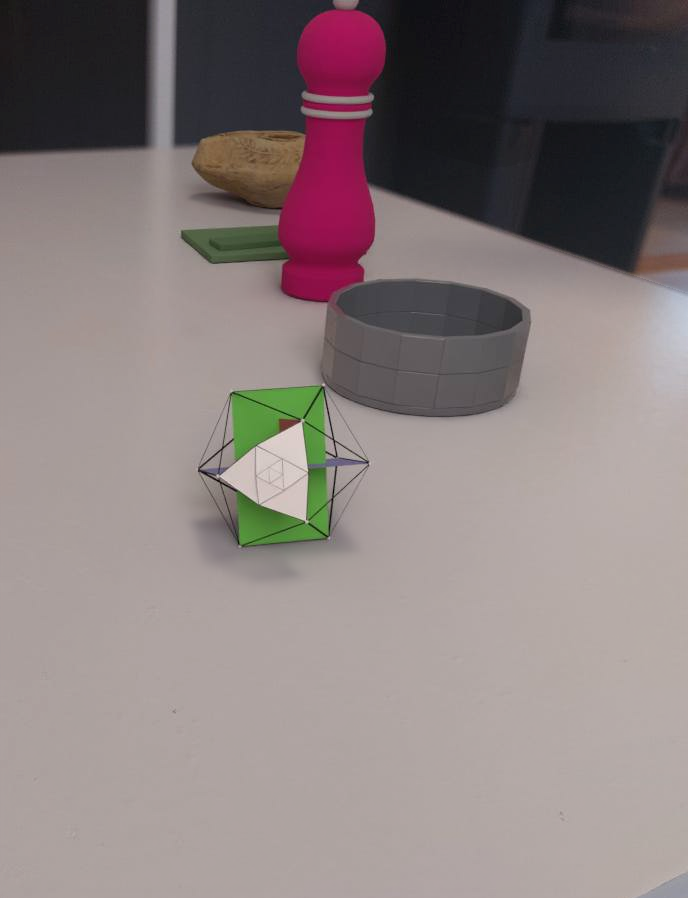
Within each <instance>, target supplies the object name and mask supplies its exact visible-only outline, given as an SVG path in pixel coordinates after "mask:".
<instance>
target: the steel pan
mask: <svg viewBox="0 0 688 898" xmlns="http://www.w3.org/2000/svg"><path fill="white" fill-rule="evenodd" d="M325 313H326V314H325V315H326V316H325V327H324V337H323V349H322V360H321V369H322V377H323V381H324V382H325V384H326V385H327V386H328V387H329V388H330V389H332V391H334V392H335V393H337V394H338V395H340V396H342V397H344V398H346V399H348V400H351V401H353V402H355V403H358V404H361V405H364V406H367V407H370V408H373V409H377V410H382V411H386V412H392V413H397V414H404V415H412V416H424V417H457V416H467V415H476V414H480V413H485V412H489V411H492V410H495V409H497V408H500V407H503V406H504V405H506V404H508V403H510V401H511V400H513V398H514V397H515V395H516V393H517V389H518V388H519V385H520V379H521V374H522V370H523V365H524V361H525V355H526V351H527V346H528V340H529V335H530V330H531V325H532V315H531V309H529V308H528V307H527V306H525V305H524V304H523V303H521V302H520V301H519V300H517V299H516V298H515V297H513V296H509V295H507V294H504V293H500V292H498V291H495V290H492V289H489V288H486V287H482V286H478V285H472V284H467V283H463V282H456V281H451V280H450V281H449V280H441V279H440V280H439V279H428V278H414V277H413V278H379V279H373V280H367V281H363V282H360V283H354V284H350V285H348V286H346V287H343V288H341V289H339V290H337V291H334V292H333V293H332V295H331V297H330V299H329V301H327V304H326V312H325Z"/></svg>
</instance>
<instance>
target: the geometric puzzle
mask: <svg viewBox="0 0 688 898" xmlns="http://www.w3.org/2000/svg"><path fill="white" fill-rule="evenodd" d="M326 393H327V395H328V397H329V398H330V400H331V401H332V403H333V405H334V407H335V408H336V410H337V412H338V413H339V414H340V416H341V418H342V420H343V422H345V425H346V427H347V428H348V430H349V431H350V433H351V434H352V436H353V438H354V440H355V442H356V443H357V445H358V446H359V448H360V450H361V451H362V452H363V454H364V457H365V458H364V457H362V456H361V455H359V454H358V453H356V452H354V451H353V450H351V449H350V448H349V447H347V446H345V445H344V444H343V443H340V442H339V441H337V440H336V439H335V435H334V429H333V425H332V420H331V415H330V410H329V404H328V399H327V395H326ZM227 403H228V406H227V407H228V408H227V414H226V419H225V425H224V433H223V437H222V444H221V445H222V446H221V447H220V448H219V449H218V450H217V451H216V452H215V453H214V454H213V455H212V456H210V457H209V458H208V459H207V460H206V461H205V462H203V463H202V460H203V459H204V456H205V454H206V451H207V450H208V447H209V444H210V442H211V440H212V438H213V435H214V433H215V431H216V428H217V427H218V424H219V422H220V420H221V417H222V415H223V412H224V410H225V408H226V405H227ZM230 405H231V407H230ZM230 408H231V413H232V414H231V415H232V429H233V430H232V432H233V433H232V434H233V438H232V439H230V440H229V441H228V442H227V443H226V444H225V438H226V433H227V426H228V421H229V420H228V419H229V413H230ZM325 408H326V413H327V417H328V422H329V427H330V433H331V436H329V435H328V434H326V425H325V424H326V423H325V421H326V419H325ZM326 437H327V438H328V439H329V440H332V442H333V448H334V452H335V454H333V453H331V452H329V451H327V449H326V447H327V446H326ZM232 442H233V448H234V449H233V450H234V462H233V463H232V464H231V465H229V466H225V467H221V464H222V457H223V451H224V449H225V448H226V447H228V446H229V445H230V444H231V443H232ZM336 444H338V445H339V446H341V447H342V448H344V449H346V450H347V451H349V452H350V453H352V454H353V455H355V456H356V457H358V458H359V459H361V460H357V459H352V458H346V457H339V455H338V451H337V450H338V449H337V446H336ZM219 453H220V458H219V464H218V467H213V468H203V467H204V466H205V465H206V464H208V463H209V462H210V461H211V460H212V459H214V458H215V457H216V456H217V455H218V454H219ZM327 455H329V456H331V457H332V458H327ZM200 459H201V460H200V462H199V464H198V466H197V467H196V468H195V472H197V473H198V474H199V476H200V477H201V480H202V481H203V483H204V485H205V486H206V489H207V490H208V492H209V494H210V496H211V498H212V499H213V501H214V503H215V505H216V506H217V508H218V510H219V512H220V514H221V515H222V518H223V519H224V520H225V523H226V524H227V526H228V527H229V530H230V532H231V533H232V535H233V537H234V539H235V541H236V543H237V544H238V546H237V547H238V548H239V549H242V547H249V546H251V547H252V546H260V545H271V544H281V543H292V542H301V541H311V540H313V541H314V540H322V539H326V540H327V541H330V540H331V535H332V533H333V531H334V530H335V528H336V526H337V524H338V522H339V521H340V519H341V517H342V514H344V512H345V510H346V508H347V506H348V505H349V502H350V501H351V499H352V498H353V495H354V494H355V491H356V490H357V489H358V487H359V485H360V483H361V481H362V480H363V478H364V476H365V474H366V473H367V470H368V469H369V467H370V466H371V465H372V464H373V463H372V461H370V460H369V459H368V457H367V455H366V454H365V452H364V451H363V448H362V447H361V445H360V444H359V442H358V440H357V439H356V437H355V435H354V434H353V432H352V430H351V429H350V427H349V425H348V424H347V422H346V421H345V419H344V416H343V415H342V414H341V412H340V410H339V409H338V407H337V405H336V403H335V402H334V400H333V399H332V397H331V395H330V394H329V393H328V391H327V389H326V383H322V384H320V385H308V386H307V385H305V386H291V387H290V386H289V387H277V388H276V387H275V388H263V389H247V390H245V389H244V390H233V389H230V390H229V395H228V397H227V400H226V402H225V403H224V407H223V409H222V411H221V414H220V416H219V419H218V421H217V423H216V426H215V427H214V430H213V432H212V434H211V436H210V439H209V441H208V444H207V446H206V448H205V451H204V453H203V454H202V458H200ZM201 463H202V464H201ZM356 465H357V466H358V465H366V466H365V467H364V468H362V470H361V471H359V472H358V473H357V474H356V475H355V476H354V477H353V478H352V479H350V481H349V482H348V483H346V484H345V485H344V487H342V488H341V489H340V490H339V491H338V492H337V493H336V494H335V490H336V481H337V471H338V467H344V466H345V467H346V466H356ZM333 467H334V477H333V484H332V494H331V498H330V499H329V500H328V477H327V468H333ZM361 473H363V475H362V477H361V478H360V480H359V483H358V484H357V486H356V487H355V489H354V491H353V492H352V494H351V496H350V498H349V500H348V502H347V503H346V505H345V507H344V509H343V510H342V513H341V514H340V516H339V518H338V519H337V520H336V522H335V525H334V527H333V528H332V530H331V525H332V516H333V508H334V500H335V499H334V498H335V497H337V496H338V495H339V494H340V493H341V492H342V491H343V490H344V489H345V488H346V487H348V485H350V484H351V482H353V481H354V480H355V479H356V478H357V477H358V476H359V475H360V474H361ZM201 474H202V475H204V476H205V477H207V478H209V479H211V480H213V481H215V482H217V483H219V485H220V489H221V492H222V495H223V498H224V501H225V506H226V508H227V511H228V514H229V518H230V520H231V523H232V526H233V530H232V528H231V527H230V524H229V523H228V522H227V519H226V517H225V516H224V514H223V512H222V511H221V510H222V509H220V507H219V505H218V503H217V501H216V499H215V498H214V495H213V494H212V492H211V491H210V489H209V487H208V485H207V484H206V483H207V482H205V479H204V478H203V477H202V475H201ZM221 480H222V481H221ZM223 486H224V487H226V488H228V489H230V490H231V491H233V492H235V493H236V502H237V519H238V520H237V521H238V533H237V530H236V527H235V524H234V521H233V517H232V514H231V511H230V507H229V505H228V501H227V498H226V494H225V491H224V489H223ZM329 503H330V511H329V509H328V507H329V505H328V504H329ZM233 531H234V532H233ZM234 533H235V534H234Z"/></svg>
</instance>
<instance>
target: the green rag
mask: <svg viewBox="0 0 688 898" xmlns="http://www.w3.org/2000/svg"><path fill="white" fill-rule="evenodd" d="M278 225H279V224H273V225H254V226H237V227H236V226H235V227H217V228H216V227H215V228H196V229H195V228H194V229H181V230H180V237H181V239H183V240H184V241H185V242H187V243H188V245H190V246H191V247H192V248H193V249H194V250H196V251H197V252H198V253H199V254H200V255H202V256H203V257H204V258H205V259H206V260H207V261H208V262H210V263H211V264H220V263H234V262H235V263H236V262H253V261H254V262H255V261H269V260H286V259H288V260H289V259H290V257H289V255H288V254H287V252H286V251H285V249H284V248H283V247H282V245H281V243H280V241H279V238H278ZM366 254H367V252H366V253H365V254H364V255H366Z"/></svg>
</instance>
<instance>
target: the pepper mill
mask: <svg viewBox="0 0 688 898" xmlns="http://www.w3.org/2000/svg"><path fill="white" fill-rule="evenodd" d="M359 2H360V0H332V3H333V6H334V8H335V9H330V10H326V11H324V12H322V13H320V14H317V15H316V16H315V17H313V18H312V19H311V20H310V21H309V22H308V23H307V24H306V25H305V27H304V29H303V31H302V33H301V34H300V38H299V40H298V45H297V53H296V63H297V67H298V70H299V73H300V74H301V76H302V78H303V79H304V81H305V83H306V87H307V89H305V90H303V91H302V92H301V98H302V99H303V100H302V105H301V107H300V112H301V113H302V115H305V135H306V137H305V143H304V150H303V155H302V159H301V162H300V166H299V169H298V171H297V174H296V176H295V179H294V181H293V183H292V185H291V187H290V190H289V192H288V194H287V196H286V198H285V201H284V203H283V207H281V210H280V214H279V218H278V220H279V221H278V224H277V225H278V238H279V241H280V243H281V245H282V247H283V248H284V249H285V251H286V252H287V254H288V255H289V257H290V258H289V259H288V260H286V261H284V262H283V263H282V265H281V279H280V288H281V290H282V291H283V292H284V293H285V294H286V295H288V296H291V297H294V298H296V299H301V300H306V301H312V302H328V301H329V299H330V297H331V295H332V293H333V292H334V291H337V290H339V289H341V288H343V287H346V286H348V285H350V284H354V283H360V282H364V279H365V268H364V266H363V265H362V264H361V263H359V261H360V260H361V258H362V257H363V256H364V255H366V254H367V253H368V251H370V249H371V248H372V246H373V244H374V241H375V239H376V238H375V237H376V213H375V206H374V202H373V198H372V195H371V191H370V189H369V185H368V181H367V176H366V172H365V164H364V163H365V162H364V134H365V128H366V122H367V118H369V117H371V116H372V115H373V114H374V113H373V109H372V104H373V103H372V102H373V101H374V99H375V95H374V94H373V93H372V92H370V89H371V87H372V85H373V84H374V82H375V81H376V80H377V79H378V78H379V76H380V75H381V73H382V72H383V69H384V67H385V63H386V53H387V45H386V40H385V35H384V31H383V30H382V28H381V25H380V24H379V23H378V22H377V20H375V19H374V18H373V17H372V16H370V15H369V14H367V13H365V12H364V11H360V10H356V9H355V8H357V6H358V5H359ZM365 253H366V254H365Z"/></svg>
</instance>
